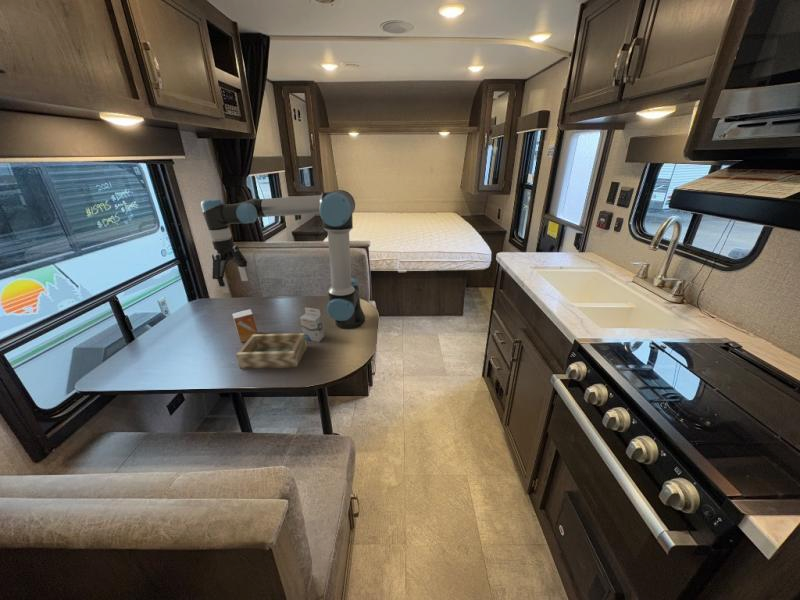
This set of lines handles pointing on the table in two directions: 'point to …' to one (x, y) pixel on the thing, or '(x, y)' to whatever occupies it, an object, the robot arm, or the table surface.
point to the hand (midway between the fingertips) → (236, 286)
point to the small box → (245, 324)
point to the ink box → (312, 324)
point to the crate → (272, 351)
